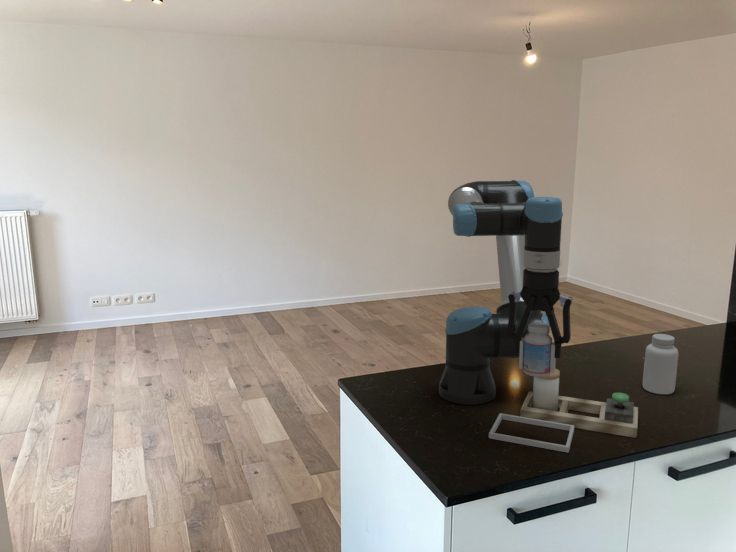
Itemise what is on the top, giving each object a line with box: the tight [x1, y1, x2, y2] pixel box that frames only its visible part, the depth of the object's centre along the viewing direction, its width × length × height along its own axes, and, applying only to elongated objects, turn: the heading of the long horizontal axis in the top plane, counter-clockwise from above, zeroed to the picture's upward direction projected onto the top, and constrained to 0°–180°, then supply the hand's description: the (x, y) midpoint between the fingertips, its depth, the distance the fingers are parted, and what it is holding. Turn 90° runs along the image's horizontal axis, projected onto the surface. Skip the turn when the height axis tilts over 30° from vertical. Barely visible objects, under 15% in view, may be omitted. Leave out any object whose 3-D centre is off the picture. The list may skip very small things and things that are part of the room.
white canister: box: [532, 367, 561, 412], centre depth 147 cm, size 6×6×11 cm
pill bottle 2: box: [642, 333, 679, 395], centre depth 158 cm, size 8×8×15 cm
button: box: [611, 392, 630, 408], centre depth 139 cm, size 4×4×3 cm
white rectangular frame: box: [488, 412, 575, 453], centre depth 136 cm, size 17×11×1 cm, turn 65°
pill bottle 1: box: [522, 322, 553, 377], centre depth 133 cm, size 6×6×11 cm
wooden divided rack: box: [519, 391, 639, 439], centre depth 144 cm, size 26×12×4 cm, turn 65°
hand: (537, 368), depth 134 cm, fingers closed on pill bottle 1, 6 cm apart
